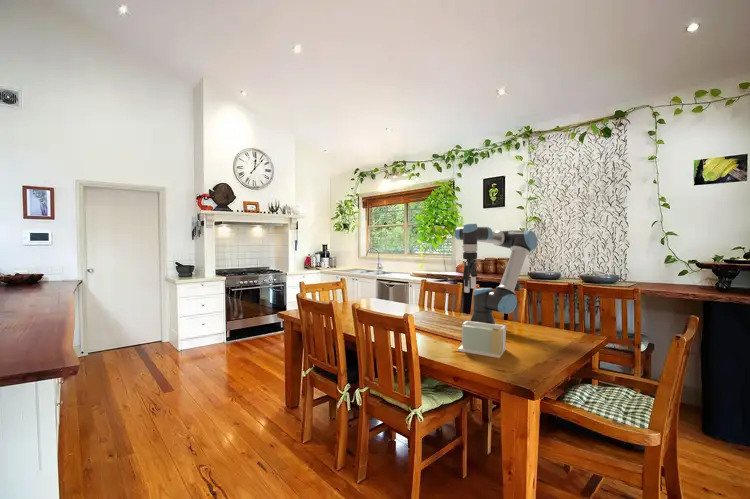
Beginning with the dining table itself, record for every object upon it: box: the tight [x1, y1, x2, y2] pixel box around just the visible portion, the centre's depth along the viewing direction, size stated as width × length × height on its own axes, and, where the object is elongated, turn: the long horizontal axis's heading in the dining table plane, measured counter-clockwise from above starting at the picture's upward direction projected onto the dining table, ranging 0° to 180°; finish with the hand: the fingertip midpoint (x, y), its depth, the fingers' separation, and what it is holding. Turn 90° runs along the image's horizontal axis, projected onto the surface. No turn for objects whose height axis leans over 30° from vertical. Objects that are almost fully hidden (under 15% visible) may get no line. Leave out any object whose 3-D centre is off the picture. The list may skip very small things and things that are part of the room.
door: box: [463, 325, 502, 355], centre depth 178 cm, size 5×18×11 cm, turn 59°
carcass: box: [457, 320, 507, 359], centre depth 181 cm, size 14×20×12 cm
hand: (470, 290), depth 202 cm, fingers open, 13 cm apart
